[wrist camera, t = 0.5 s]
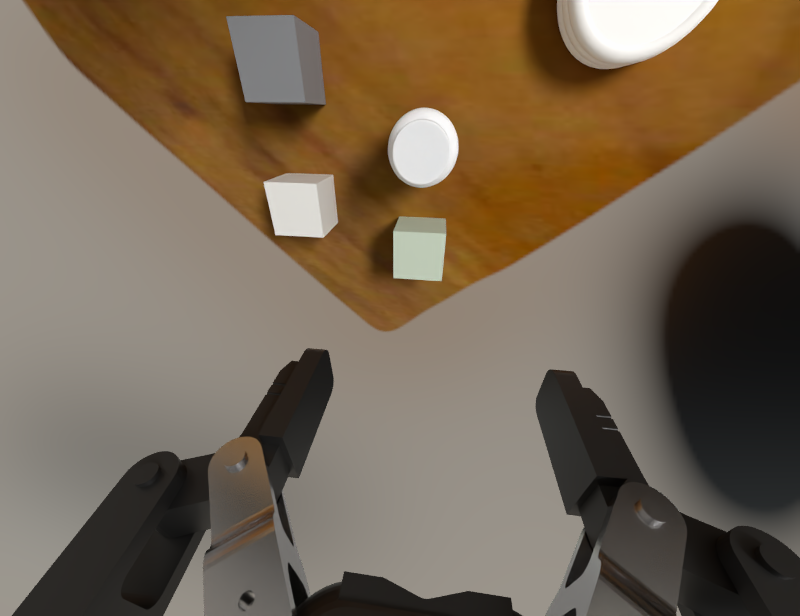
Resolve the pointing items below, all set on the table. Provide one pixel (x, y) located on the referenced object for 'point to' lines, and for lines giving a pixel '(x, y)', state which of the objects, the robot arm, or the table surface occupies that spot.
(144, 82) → the table surface
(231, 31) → the medium grey block
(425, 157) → the supplement bottle
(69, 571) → the robot arm
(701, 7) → the coaster
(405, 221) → the sage block
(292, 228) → the pale grey block
